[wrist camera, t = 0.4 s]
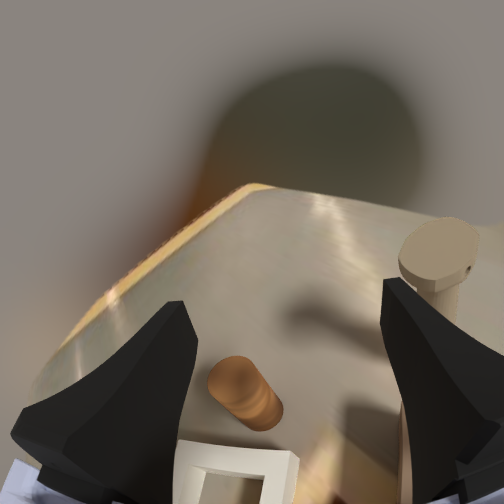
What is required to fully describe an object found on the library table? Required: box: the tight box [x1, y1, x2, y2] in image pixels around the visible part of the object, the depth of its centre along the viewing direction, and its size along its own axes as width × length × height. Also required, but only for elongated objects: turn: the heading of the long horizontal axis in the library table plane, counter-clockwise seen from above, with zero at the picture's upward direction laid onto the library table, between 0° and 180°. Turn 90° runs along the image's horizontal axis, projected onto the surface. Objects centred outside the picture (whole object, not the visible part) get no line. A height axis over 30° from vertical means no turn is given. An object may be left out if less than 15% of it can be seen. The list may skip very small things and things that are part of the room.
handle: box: [398, 217, 479, 325], centre depth 22 cm, size 5×6×15 cm
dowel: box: [207, 356, 283, 431], centre depth 27 cm, size 4×4×8 cm
